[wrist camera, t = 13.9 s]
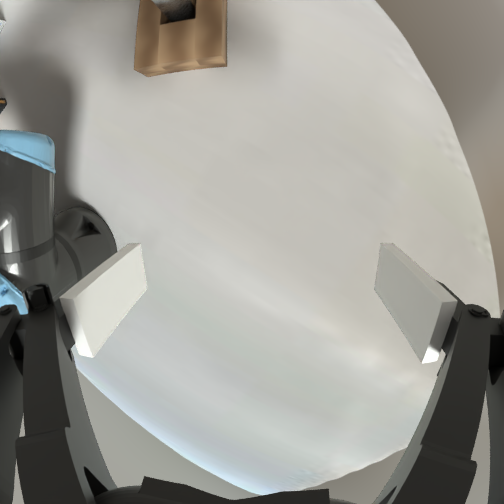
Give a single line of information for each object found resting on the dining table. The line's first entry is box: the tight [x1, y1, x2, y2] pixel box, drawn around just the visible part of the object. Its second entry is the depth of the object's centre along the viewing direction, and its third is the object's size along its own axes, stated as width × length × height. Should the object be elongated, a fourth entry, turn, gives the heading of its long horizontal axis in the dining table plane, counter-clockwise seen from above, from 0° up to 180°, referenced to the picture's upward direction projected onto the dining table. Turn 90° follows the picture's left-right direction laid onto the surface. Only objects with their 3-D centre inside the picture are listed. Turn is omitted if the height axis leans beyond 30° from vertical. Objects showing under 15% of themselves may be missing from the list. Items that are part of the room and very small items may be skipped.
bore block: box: [134, 0, 227, 77], centre depth 29 cm, size 12×18×5 cm, turn 1°
